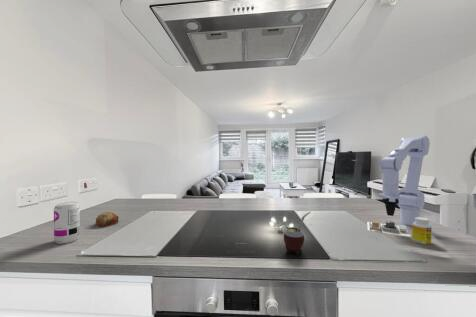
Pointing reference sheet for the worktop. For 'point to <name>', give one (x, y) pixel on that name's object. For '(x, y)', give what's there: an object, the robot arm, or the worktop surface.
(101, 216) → the bread roll
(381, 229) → the switch board
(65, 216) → the supplement can
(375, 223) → the tan block
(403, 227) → the grey rocker switch
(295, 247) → the mate gourd
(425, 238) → the supplement bottle
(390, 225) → the black push button
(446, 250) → the worktop surface
